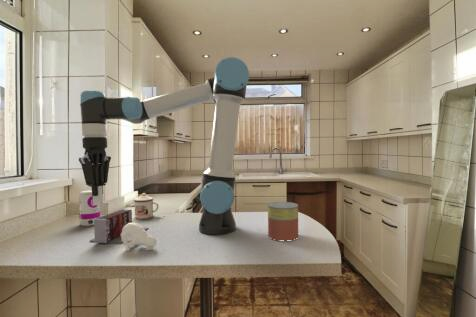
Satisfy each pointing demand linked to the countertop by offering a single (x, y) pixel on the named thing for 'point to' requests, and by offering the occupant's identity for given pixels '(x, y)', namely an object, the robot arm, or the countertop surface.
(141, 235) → the white irregular piece
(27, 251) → the countertop surface
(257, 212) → the countertop surface
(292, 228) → the canned food
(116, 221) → the supplement box
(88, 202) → the supplement can
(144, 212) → the teacup with lid
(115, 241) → the mat
